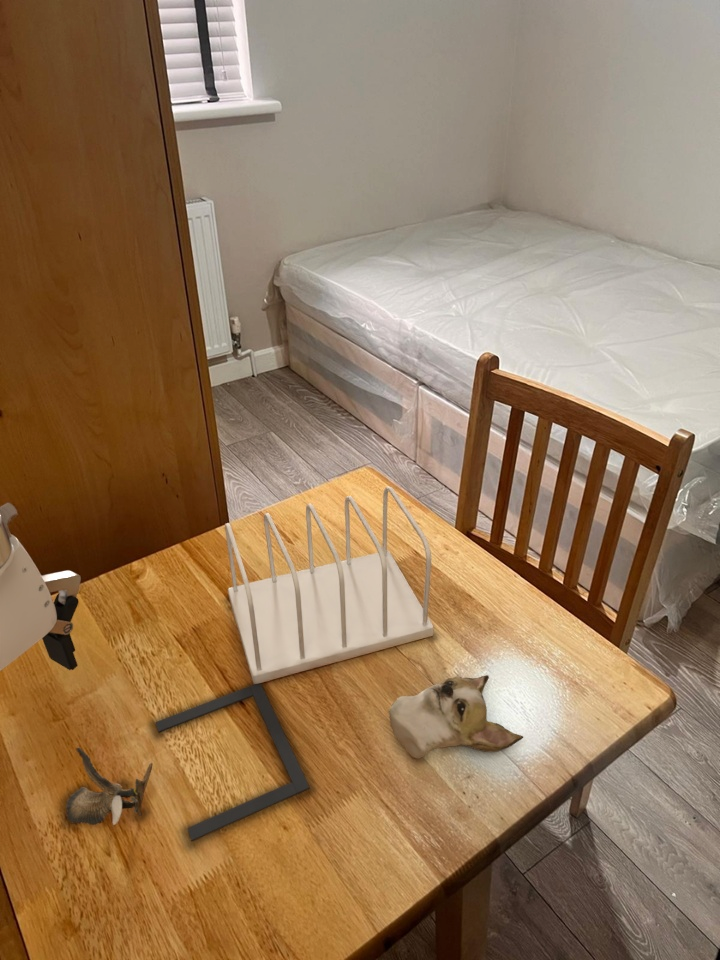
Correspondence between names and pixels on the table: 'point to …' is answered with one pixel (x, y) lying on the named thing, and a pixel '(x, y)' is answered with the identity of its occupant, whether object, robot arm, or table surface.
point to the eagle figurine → (103, 797)
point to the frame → (279, 740)
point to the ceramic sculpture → (448, 719)
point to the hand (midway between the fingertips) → (19, 699)
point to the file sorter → (326, 603)
